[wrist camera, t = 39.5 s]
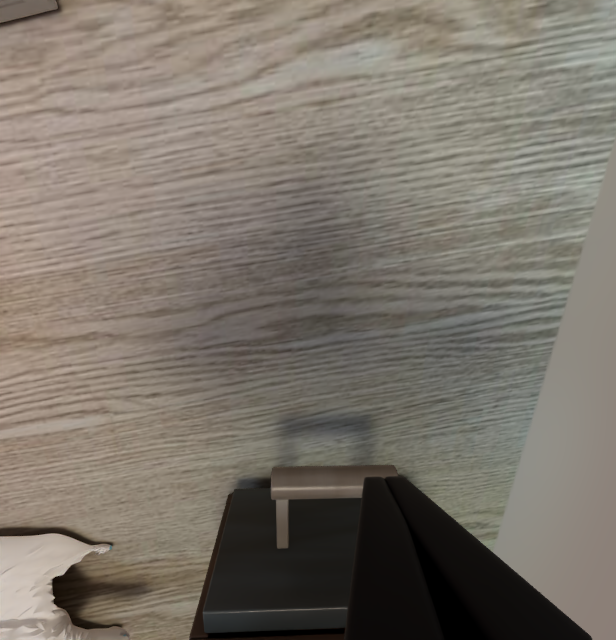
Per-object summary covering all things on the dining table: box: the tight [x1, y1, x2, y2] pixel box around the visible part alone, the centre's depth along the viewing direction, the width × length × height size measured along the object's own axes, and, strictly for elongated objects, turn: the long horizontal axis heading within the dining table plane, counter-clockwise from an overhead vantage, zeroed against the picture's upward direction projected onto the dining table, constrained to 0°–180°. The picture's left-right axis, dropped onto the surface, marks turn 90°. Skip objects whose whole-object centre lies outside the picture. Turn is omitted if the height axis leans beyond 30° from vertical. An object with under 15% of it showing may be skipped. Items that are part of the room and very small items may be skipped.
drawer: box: [203, 465, 398, 638], centre depth 17 cm, size 18×11×7 cm, turn 0°
